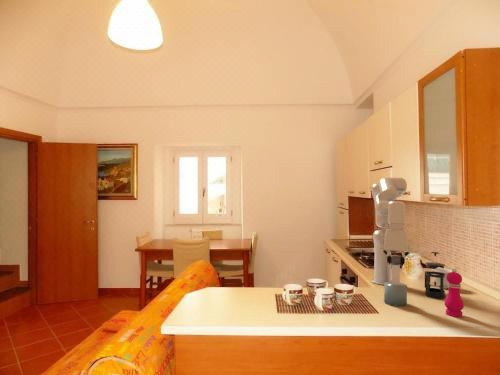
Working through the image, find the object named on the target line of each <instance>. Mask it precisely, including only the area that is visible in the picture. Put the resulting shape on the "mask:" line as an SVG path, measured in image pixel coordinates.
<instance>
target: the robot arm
mask: <svg viewBox="0 0 500 375" xmlns="http://www.w3.org/2000/svg"><path fill="white" fill-rule="evenodd" d="M407 187H408V184H407V181H406V180H405V179H404V178H403V177H383V178H381V179H380V180H379V182H377V183H374V184H372V186H371V196H372V199H373V201H374V208H375V225H376V226H377V227H378V228H383V229H378V230H375V231H374V232H373V233H372V239H373V240H372V241H373V246H374V247H373V248H374V251H373V252H374V260H373V261H374V267H373V272H374V273H373V277H374V278H371V280H370V281H371V283H372V284H376V285H381V286H384V283H385V282H392V263H390V255H392V252H401V256H402V257H401V264H400V267H401V266H402V267H403V266H404V265H406V264H405V263H406V262H405V258H406V257H407V256H408V255H409V254H411V253H413V251H414V250H413V249H412V248H411V246H410V245H409V244H408V242H409V241H408V234H407V233H408V232H407V230H406V228H405V227H406V225H405V224H406V223H405V221H406V220H405V216H406V215H405V214H406V210H407V208H406V207H407V206H406V204H405V203H404V202H403V201H396V200H397V198H401V197H403V195H404V194H405V193H406V191H407ZM384 228H385V229H384ZM391 251H392V252H391Z"/></svg>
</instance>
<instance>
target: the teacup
mask: <svg viewBox="0 0 500 375" xmlns="http://www.w3.org/2000/svg"><path fill="white" fill-rule="evenodd" d="M430 270H432V271H431V272H435V269H430ZM436 272H440V273H444V274H445V277H444V278H443V284H444V287H443V290H444V289H445V290H447V288H448V289H449V286H448V283H449V282H448V281H447V279H446V276H447V274H448V273H450V272H452V269H449V268H444V269H443V268H440V267H438V268H436ZM433 275H435V274H433ZM436 275H437V274H436ZM433 282H435V277H433ZM436 283H440V278H436ZM438 289H440V287H438Z"/></svg>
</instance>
